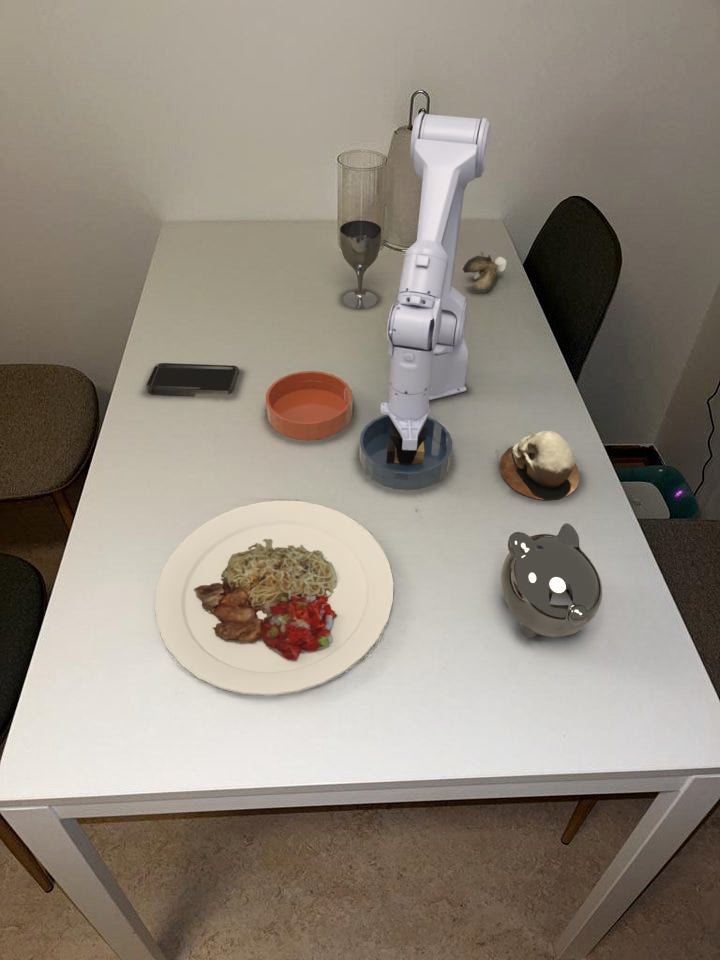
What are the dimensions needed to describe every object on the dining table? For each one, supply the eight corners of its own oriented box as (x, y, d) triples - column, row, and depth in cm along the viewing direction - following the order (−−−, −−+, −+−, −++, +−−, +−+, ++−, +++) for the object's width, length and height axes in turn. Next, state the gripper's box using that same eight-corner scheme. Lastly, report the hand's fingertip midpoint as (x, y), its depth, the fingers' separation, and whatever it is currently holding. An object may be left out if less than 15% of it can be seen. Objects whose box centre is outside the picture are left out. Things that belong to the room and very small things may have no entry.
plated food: (254, 482, 103) (251, 465, 101) (433, 563, 92) (435, 547, 90) (106, 627, 85) (99, 611, 82) (308, 750, 74) (306, 736, 72)
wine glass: (386, 296, 143) (389, 226, 132) (366, 313, 138) (367, 242, 128) (354, 286, 146) (354, 217, 135) (333, 302, 141) (331, 231, 131)
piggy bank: (555, 559, 93) (575, 500, 85) (608, 654, 83) (635, 597, 75) (477, 573, 91) (489, 514, 83) (520, 672, 81) (539, 616, 73)
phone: (156, 362, 123) (239, 365, 123) (157, 367, 124) (240, 370, 123) (144, 389, 118) (231, 392, 117) (145, 394, 118) (232, 397, 118)
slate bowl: (425, 423, 114) (427, 404, 111) (465, 478, 104) (469, 458, 101) (346, 444, 110) (346, 424, 107) (381, 502, 100) (382, 483, 98)
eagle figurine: (468, 264, 151) (453, 274, 144) (490, 240, 146) (476, 249, 140) (492, 290, 151) (477, 301, 144) (515, 267, 146) (501, 277, 140)
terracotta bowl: (334, 382, 121) (334, 363, 119) (364, 430, 112) (365, 411, 109) (257, 400, 118) (255, 381, 115) (282, 451, 108) (280, 432, 105)
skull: (479, 453, 107) (526, 403, 103) (516, 474, 113) (560, 428, 110) (520, 503, 98) (572, 451, 95) (557, 523, 105) (606, 474, 102)
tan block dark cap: (422, 452, 107) (423, 439, 106) (423, 464, 106) (424, 451, 104) (386, 451, 107) (387, 439, 106) (386, 463, 106) (387, 450, 104)
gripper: (381, 352, 102) (378, 423, 111) (382, 414, 91) (379, 486, 101) (429, 353, 102) (422, 424, 111) (435, 415, 91) (427, 487, 101)
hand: (405, 454), depth 106 cm, fingers closed on tan block dark cap, 3 cm apart
